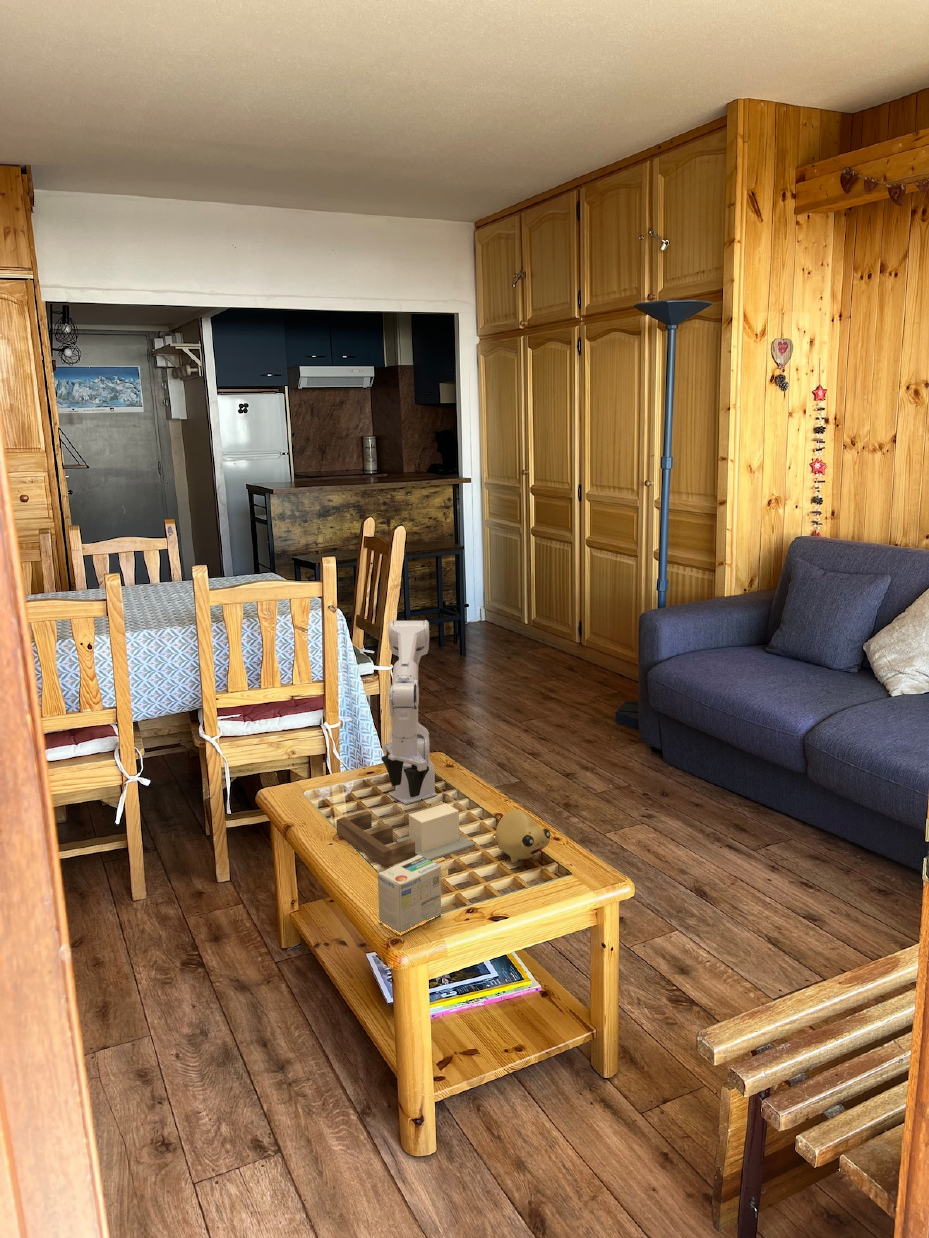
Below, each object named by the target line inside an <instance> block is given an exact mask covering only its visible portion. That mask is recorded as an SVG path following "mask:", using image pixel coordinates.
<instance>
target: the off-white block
mask: <svg viewBox="0 0 929 1238" xmlns="http://www.w3.org/2000/svg"><path fill="white" fill-rule="evenodd" d="M459 834H460V810H458V809H457V808H455V807H454V806H451V805H449V804H448V803H443V804H439V805H436V806H433V807H429V808H427V809H423V810H421V811H420V810H419V811H417V812H414V813H409V814H408V836H409V839H411V840H413V841H414V842H415V848H416V849H417V850H419V851H421V852H425V851H428V850H431V849H434V848H437V847H440V846H443V845H446V844H449V843H452V842H454V841H457V840H459Z"/></svg>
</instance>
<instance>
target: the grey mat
mask: <svg viewBox="0 0 929 1238" xmlns="http://www.w3.org/2000/svg"><path fill="white" fill-rule="evenodd" d="M407 839H409V835H406V836H404V837H403V836H402V837H400V838H398V839H395V843H398V842H401V841H404V840H407ZM474 846H476V844H475V842H473V841H471V840H470V839H469V838H466V837H465V836H463V835H461V834H460V833H459V840H457V841H454V842H452V843H449V844H446V845H443V846H440V847H437V848H434V849H431V850H428V851H425V852H421V851H419V850H417V849H416V848H415V856H417V855H420V856H422V857H424V858H426V859H428V860H430V861H432V862H433V861H435V860H437V859H439V858H443V857H447V856H449V855H452V854H455V853H457V852H460V851H463V850H464V851H465V850H467V849H469V848H472V847H474Z"/></svg>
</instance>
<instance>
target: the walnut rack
mask: <svg viewBox="0 0 929 1238" xmlns="http://www.w3.org/2000/svg"><path fill="white" fill-rule="evenodd" d="M372 825H373V823H372V813H371V812H370V811H368V810H364V811H360V812H357V813H353V814H351V815H347V816H343V817H340V818H337V819H336V835H338V836H339V835H340V837H341V838H342V839H343V838H344V839H343V840H345V841H346V842H347V843H349V844H350V845H352V846H353V847H355V848H356V849H357V850H359V851H360V852H362V853H363V854H364V855H365V856H367V857H369V858H370V859H371V860H373V861H374V862H375V863H377V864H378V865H380V866H381V867H382V868H387V867H390V866H393V865H397V864H400V863H402V862H404V861H406V860H408V859H410V858H412V857H414V856H416V855H415V842H414V841H413V840H411V839H407V840H404V841H401V842H398V843H397V842H395V843H393V841H394V837H393V826H391V825H390V824H388V823H386V824H384V825H383V824H382V825H381V826H377V827H374V828H372ZM390 843H392V844H390ZM387 844H390V845H387Z"/></svg>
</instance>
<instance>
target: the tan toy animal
mask: <svg viewBox="0 0 929 1238" xmlns="http://www.w3.org/2000/svg"><path fill="white" fill-rule="evenodd" d="M495 831H496V832H495V836H496V840H497V841H496V842H497V843H498V845H497V848H498V849H499V850H500V851H501V850H502V852H504V853H505V854H506V855H507V856H509V857H510V861H511V863H513V862H516V861H517V862H518V861H519V860H528V859H531V858H533V856H534V855H535V854H536V855H537V854H538V853H539V852H540V851H542V850H544V849H545V848H547V846H548V845H549V844H550V840H551V836H552V835H551V832H550V830H549V829H548V828H542V827H541V826H540V825H539V824H538V823H537V822H536V821H535V820H534V819H533V818H532V817H531V816H530V815H529V814H528V813H526V812H525V811H524V810H522V809H519V808H518V809H517V808H516V809H512V810H510V811H508V812H506V813H505V814H504V815H503V816H502V817H501V819H500V820H499V821H498V823H497V825H496V830H495ZM536 855H535V856H536ZM535 856H534V857H535ZM517 862H516V863H517Z"/></svg>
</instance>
